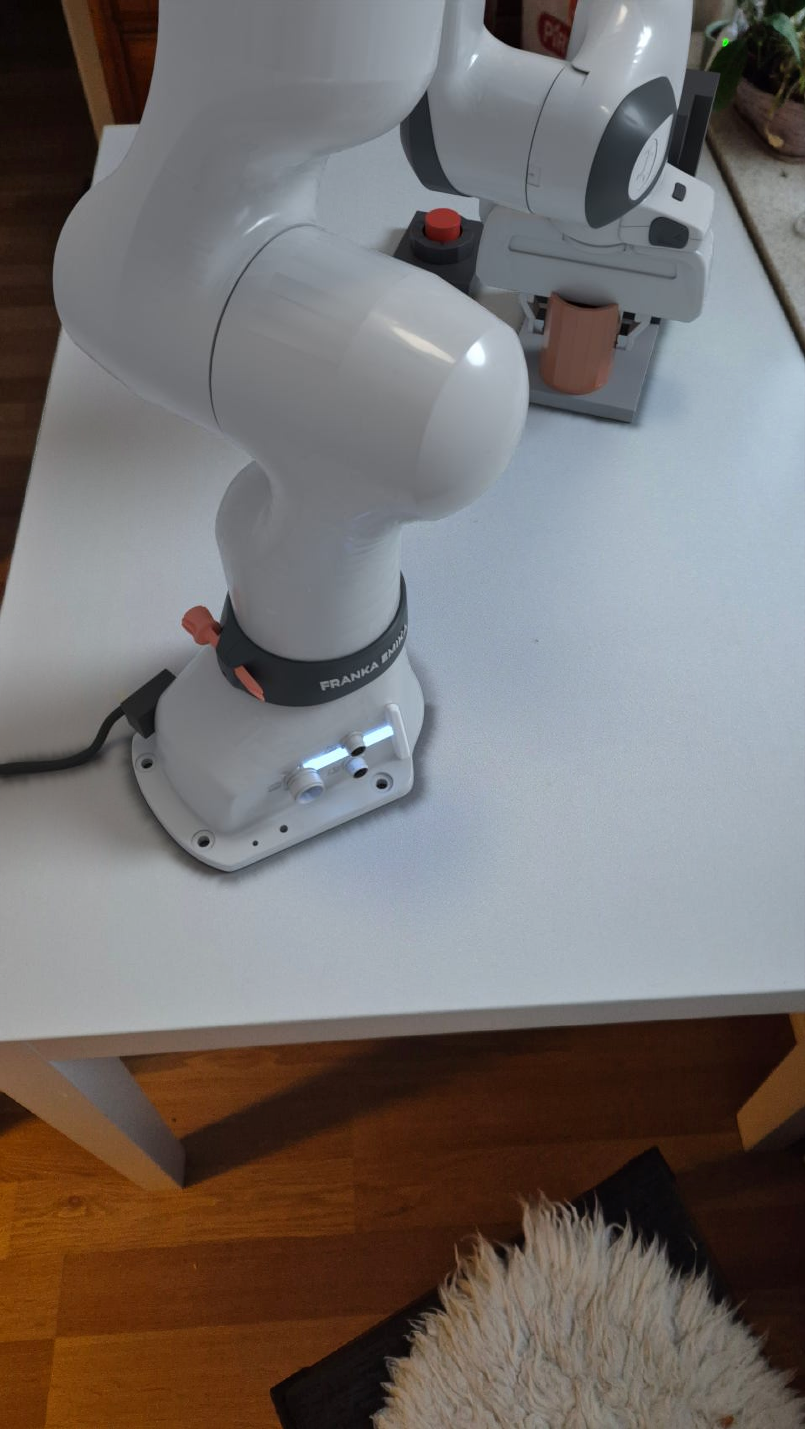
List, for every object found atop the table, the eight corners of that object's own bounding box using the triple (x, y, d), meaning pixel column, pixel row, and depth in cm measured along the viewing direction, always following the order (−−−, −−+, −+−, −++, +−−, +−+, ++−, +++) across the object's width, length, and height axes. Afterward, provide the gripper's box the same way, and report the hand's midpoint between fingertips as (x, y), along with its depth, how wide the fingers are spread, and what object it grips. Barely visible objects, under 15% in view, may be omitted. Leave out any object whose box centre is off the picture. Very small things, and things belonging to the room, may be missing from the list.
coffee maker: (632, 423, 95) (688, 183, 75) (497, 396, 97) (518, 156, 77) (663, 313, 103) (720, 73, 84) (539, 290, 105) (567, 51, 86)
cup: (572, 404, 94) (586, 321, 86) (524, 366, 97) (533, 282, 89) (625, 375, 96) (643, 291, 88) (576, 338, 99) (590, 254, 91)
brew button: (454, 246, 104) (454, 230, 102) (420, 240, 104) (420, 224, 103) (463, 227, 106) (464, 211, 104) (430, 221, 106) (431, 205, 105)
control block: (468, 303, 104) (470, 268, 101) (385, 288, 106) (384, 253, 103) (495, 243, 110) (498, 207, 107) (416, 229, 112) (416, 194, 108)
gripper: (470, 194, 82) (463, 338, 94) (723, 237, 79) (683, 381, 90) (490, 153, 85) (481, 298, 97) (734, 193, 82) (694, 337, 93)
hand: (580, 338), depth 94 cm, fingers closed on cup, 7 cm apart
